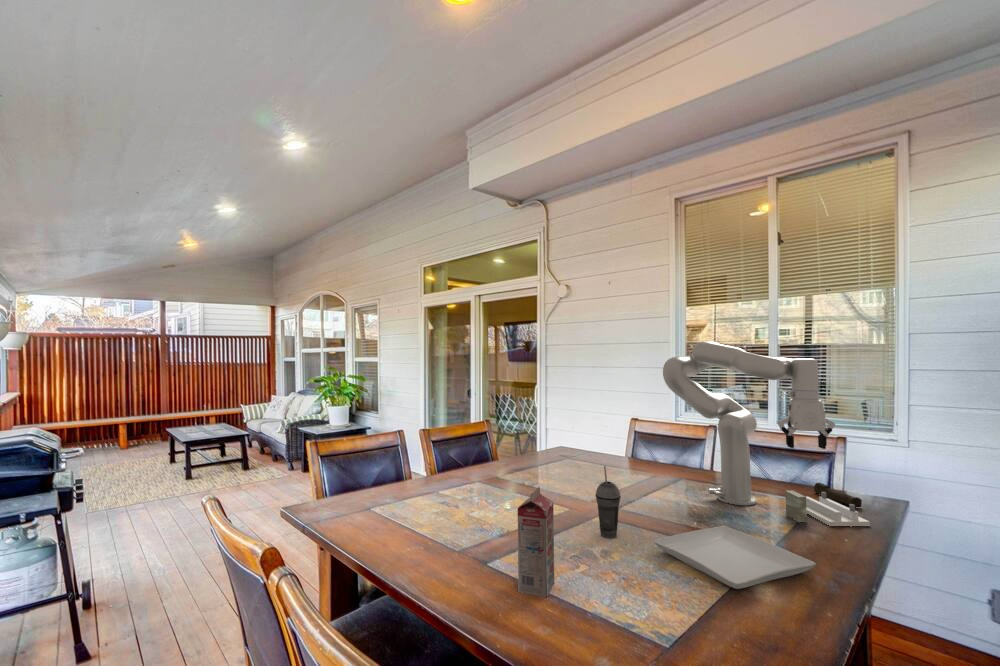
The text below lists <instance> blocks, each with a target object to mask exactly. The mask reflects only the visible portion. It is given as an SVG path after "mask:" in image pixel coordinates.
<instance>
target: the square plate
mask: <svg viewBox="0 0 1000 666" xmlns="http://www.w3.org/2000/svg"><path fill="white" fill-rule="evenodd" d="M652 542H653V543H654V544H655V545H656V546H657V547H658V548H659V549H660V550H661V551H663V552H665V553H666V554H668V555H671V556H672V557H674V558H675V559H678V560H680V561H681V562H683V563H685V564H686V565H688V566H691V567H692V568H694V569H696V570H698V571H700V572H702V573H704V574H705V575H707V576H709V577H711V578H713V579H715V580H717V581H718V582H720V583H723V584H725V585H726V586H727V587H730V588H733V589H736V590H741V589H745V588H748V587H752V586H755V585H758V584H762V583H766V582H770V581H774V580H778V579H782V578H786V577H791V576H795V575H798V574H801V573H805V572H807V571H810V570H811V569H813V568H814V567H815V566H817V563H816V562H814V561H812V560H810V559H808V558H805V557H803V556H801V555H798V554H797V553H793V552H791V551H789V550H787V549H785V548H783V547H780V546H777V545H775V544H772V543H770V542H767V541H765V540H763V539H760V538H758V537H755V536H752V535H749V534H747V533H744V532H742V531H739V530H737V529H734V528H732V527H728V526H725V525H720V526H716V527H710V528H703V529H697V530H693V531H688V532H683V533H682V532H681V533H678V534H673V535H669V536H668V535H667V536H665V537H661V538H655V539H653V540H652Z"/></svg>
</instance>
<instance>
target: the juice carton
mask: <svg viewBox="0 0 1000 666" xmlns="http://www.w3.org/2000/svg"><path fill="white" fill-rule="evenodd" d="M540 487H541V486H538V487H537V488H536V489H535V490H534V491H533V492H532V493H531V494H530V497H528V498H527V499H526V500H524V502H523V503H522V504H521V505H519V506H518V507H517V589H518V590H517V591H518V593H521V594H525V595H526V594H527V595H533V596H539V597H543V598H547V597H548V596H549V594H550V593H551V591H552V589H553V586H554V584H555V529H554V525H555V524H554V523H555V522H554V520H555V519H554V517H555V516H554V515H555V514H554V501H552V500H551V499H549V498H548V497H546V496H544V495H543V494H541V490H540V489H541V488H540Z"/></svg>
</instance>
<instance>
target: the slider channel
mask: <svg viewBox="0 0 1000 666" xmlns="http://www.w3.org/2000/svg"><path fill="white" fill-rule="evenodd" d="M821 495H822V496H818V500H817V499H814V498H812V497H810V496H805V497H806V508H807V514H809V515H811V516H812V517H811V516H810V517H811V518H813V517H814V519H815V518H816V519H815V520H817V519H818V520H817V521H819V520H820V521H819V522H821V521H822V522H823V523H822V522H821V523H822V524H824V523H825V524H824V525H826V524H827V526H828V525H829V526H828V527H830V526H850V528H851V527H852V526H870V525H871V524H870V523H871V521H870V520H867V519H865V518H862V517H861V516H859V512H858V511H857V510H856V509H855V505H853V504H849V506H847V505H843V504H842V503H840V502H838V501H836V500H833V499H831V498H827V496H826V492H821ZM809 515H808V516H809ZM852 528H853V527H852Z"/></svg>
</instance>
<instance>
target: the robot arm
mask: <svg viewBox="0 0 1000 666" xmlns="http://www.w3.org/2000/svg"><path fill="white" fill-rule="evenodd" d="M712 366H713V367H717V368H722V369H725V370H730V371H734V372H736V373H741V374H745V375H747V376H748V375H749V376H751V377H757V378H760V379H764V380H770V381H777V380H787V379H791V389H790V391H787V396H788V397H791V399H789V402H788V407H787V416H785V417H784V418H782V419H780V420H777V422H776V424H777V425H778V427H779V429H780V431H782V433H784V435H785V444H786V445H787V447H788V448H790V449H794V448H795V436H793V434H795V432H796V431H798V432H799V431H800V432H818V434H819V435H818V436H817V437H818V438H817V444H818V448H819V449H822V450H826V449H827V447H826V446H827V444H828V442H827V440H828V439H827V437H829V434H831V433H832V432H833V429H834V428H835V426H836V423H835V421H834V422H833V421H831V420H829V419H828V418H826V413H825V407H824V404H823V400H820V397H819V396H820V392H819V391H820V390H819V363H818V360H816V359H815V358H805V357H803V358H800V357H799V358H788V357H779V356H778V357H773V356H772V357H771V356H766V355H761V354H756V353H752V352H747V351H746V350H744V349H742V348H740V347H737V346H736V347H735V346H731V345H725V344H722V343H721V344H720V343H718V342H716V341H699V342H697V343H695V345H694V346H693V347H692V350H691V353H690V354H688V355H685V356H684V355H683V356H680V355H679V356H672V357H670V358H669V359H667V360H666V361H665V363H664V364H663V368H662V377H663V380H664V383H665V385H666V386H667V387H668V389H670V390H671V392H673V393H674V394H675V395H676V396H678V397H679V398H680V399H681V400H683V401H684V402H685V403H686V404H688V405H689V406H690V407H691V408H692V409H694V410H695V411H696V412H697V413H699V414H700V415H701V416H702V417H704V418H706V419H709V420H713V419H718V420H719V421H718V422H717V431H718V438H719V447H720V448H719V449H720V469H721V470H720V472H721V474H720V475H721V480H720V481H721V485H718V487H716V488H708V489H707V492H708V495H714V496H716V497H717V500H718V501H720V502H723V503H725V504H728V503H729V505H733V504H734V505H735V506H752V505H756V504H757V499H756V498H755V496H753V495H752V479H751V473H752V472H751V455H750V454H751V453H750V452H751V451H750V450H751V449H750V444H749V439H748V436H750V435H752V434H753V433H754V432H755V431H756V430H757V426H758V425H757V419H756V417H755V416H754V415H753V414H752V413H751V412H750V411H749V410H748V409H746V408H745V407H743V406H742V405H741V404H739V402H737V401H736V400H734V399H733V398H731V397H730V396H728V395H726V394H725V393H723V392H718V391H717V392H710V391H709V390H707V389H706V388H705V387H703V386H702V385H701V384H700V383H697V381H695V380H692V379H691V378H692V377H694V376H696V375H698V374H700V373H702V372H703V371H705V370H707V369H708V368H711V367H712ZM785 424H787V428H786V427H785Z"/></svg>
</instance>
